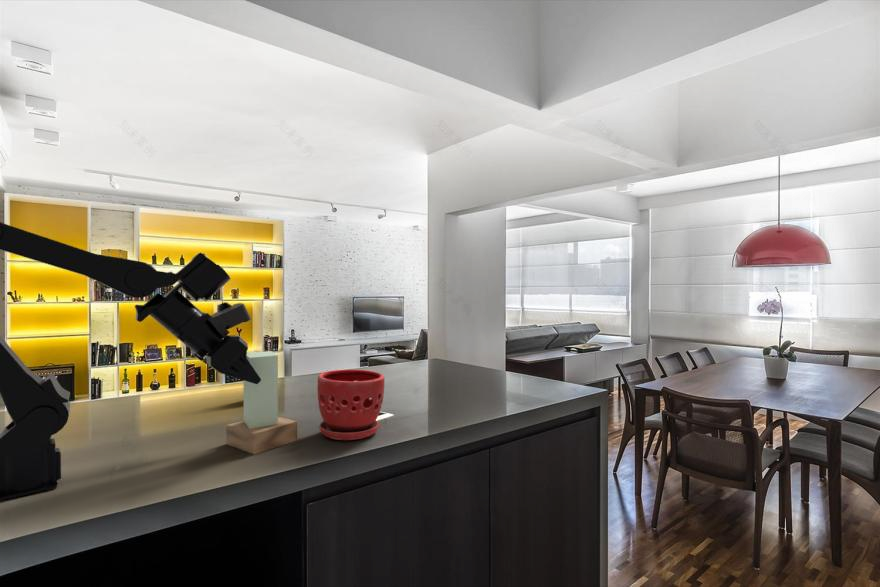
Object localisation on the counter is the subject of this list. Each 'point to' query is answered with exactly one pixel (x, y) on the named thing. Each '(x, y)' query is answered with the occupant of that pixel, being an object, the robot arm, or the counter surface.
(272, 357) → the sage block
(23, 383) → the robot arm
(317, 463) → the counter surface
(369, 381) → the plant pot
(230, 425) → the tan block
